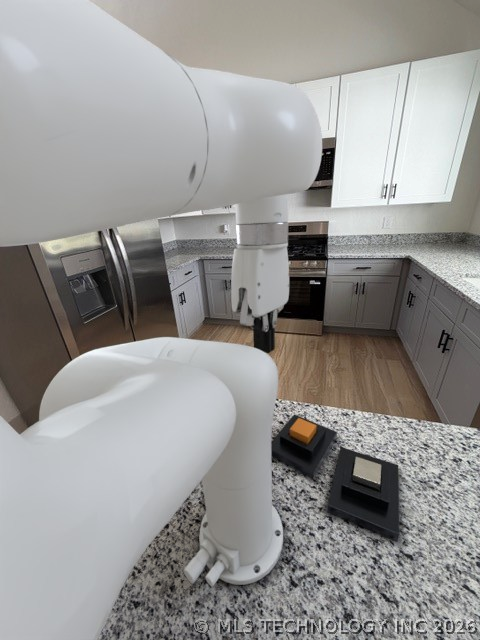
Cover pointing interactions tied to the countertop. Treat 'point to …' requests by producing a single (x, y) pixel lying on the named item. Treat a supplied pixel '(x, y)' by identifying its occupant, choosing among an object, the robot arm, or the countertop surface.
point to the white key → (367, 474)
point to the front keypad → (366, 496)
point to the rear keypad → (303, 448)
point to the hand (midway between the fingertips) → (264, 349)
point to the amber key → (303, 430)
